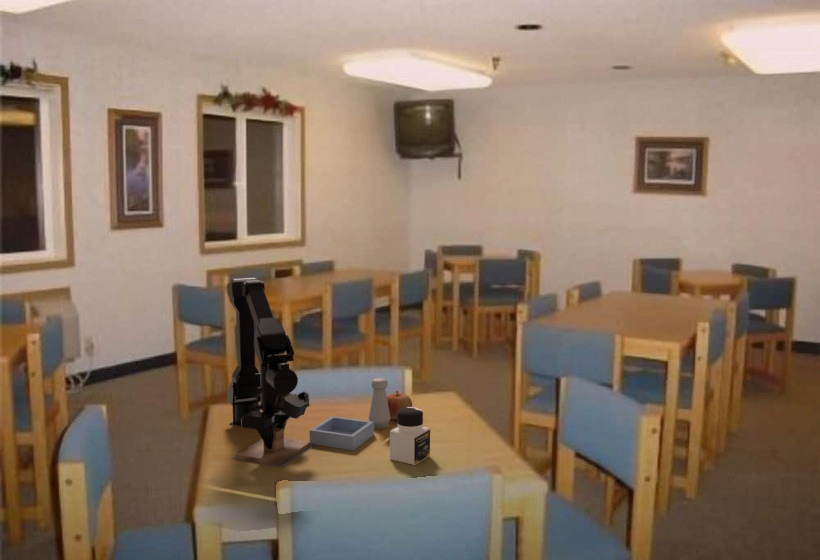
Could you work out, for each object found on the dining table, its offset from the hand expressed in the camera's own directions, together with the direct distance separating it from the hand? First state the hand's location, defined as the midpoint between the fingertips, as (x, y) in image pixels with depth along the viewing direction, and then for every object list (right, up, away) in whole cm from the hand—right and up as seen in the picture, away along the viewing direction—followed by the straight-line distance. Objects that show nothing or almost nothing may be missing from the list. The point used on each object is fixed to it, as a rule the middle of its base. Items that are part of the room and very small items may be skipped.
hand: (273, 445), depth 184 cm
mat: (0, -2, 0) cm, 2 cm away
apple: (+29, +1, +28) cm, 40 cm away
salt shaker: (+25, 0, +21) cm, 32 cm away
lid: (0, -2, 0) cm, 2 cm away
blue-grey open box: (+16, -1, +10) cm, 18 cm away
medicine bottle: (+33, -3, -1) cm, 33 cm away
